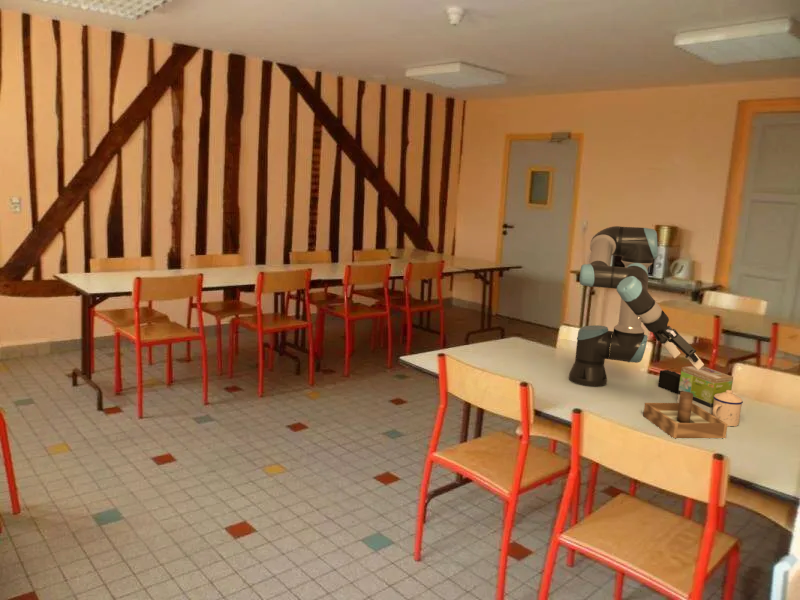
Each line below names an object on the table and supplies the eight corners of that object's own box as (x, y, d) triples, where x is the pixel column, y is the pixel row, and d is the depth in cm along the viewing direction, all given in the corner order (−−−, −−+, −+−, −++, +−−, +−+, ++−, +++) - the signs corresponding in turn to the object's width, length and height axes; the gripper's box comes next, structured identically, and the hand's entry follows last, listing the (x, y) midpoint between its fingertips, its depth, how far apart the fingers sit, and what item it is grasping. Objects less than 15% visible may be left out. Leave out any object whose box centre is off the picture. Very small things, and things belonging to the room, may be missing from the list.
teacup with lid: (720, 416, 225) (724, 385, 223) (744, 424, 217) (749, 392, 215) (699, 421, 219) (704, 389, 216) (724, 430, 211) (729, 397, 209)
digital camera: (688, 393, 250) (690, 376, 248) (678, 394, 247) (680, 377, 246) (667, 385, 259) (669, 369, 258) (658, 386, 257) (660, 370, 256)
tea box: (675, 403, 236) (680, 366, 234) (695, 401, 240) (700, 364, 238) (709, 417, 223) (714, 377, 220) (728, 414, 227) (734, 375, 224)
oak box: (643, 416, 221) (644, 402, 220) (691, 416, 223) (692, 403, 222) (673, 438, 201) (675, 423, 200) (725, 438, 203) (727, 424, 202)
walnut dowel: (673, 424, 214) (678, 391, 212) (684, 424, 214) (689, 391, 212) (680, 429, 210) (684, 395, 208) (691, 429, 210) (695, 395, 208)
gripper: (625, 315, 217) (660, 358, 222) (664, 333, 193) (702, 380, 197) (641, 301, 217) (676, 343, 221) (682, 317, 192) (720, 364, 197)
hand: (688, 361), depth 209 cm, fingers open, 13 cm apart
